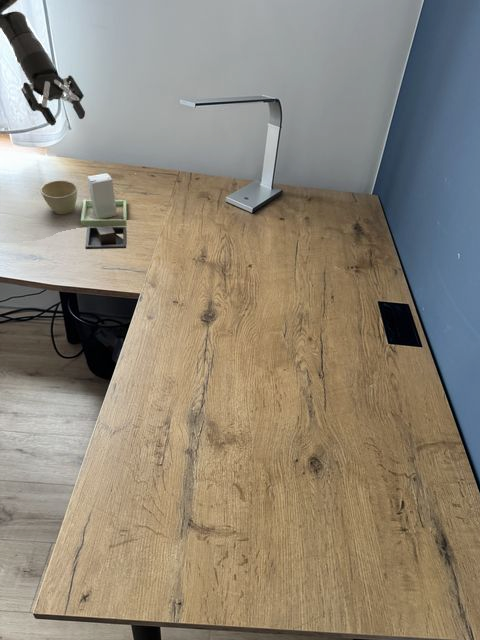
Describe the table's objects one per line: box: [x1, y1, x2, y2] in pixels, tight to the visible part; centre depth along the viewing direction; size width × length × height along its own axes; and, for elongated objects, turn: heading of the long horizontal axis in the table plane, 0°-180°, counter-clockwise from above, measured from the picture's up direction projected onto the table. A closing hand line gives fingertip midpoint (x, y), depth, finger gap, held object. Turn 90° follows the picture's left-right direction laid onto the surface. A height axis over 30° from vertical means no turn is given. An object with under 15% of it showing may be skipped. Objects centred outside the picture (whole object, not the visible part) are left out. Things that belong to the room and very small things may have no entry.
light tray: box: [80, 199, 128, 228], centre depth 150 cm, size 13×13×3 cm
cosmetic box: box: [87, 172, 118, 219], centre depth 147 cm, size 6×4×12 cm
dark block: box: [97, 226, 116, 245], centre depth 139 cm, size 4×4×4 cm
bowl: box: [40, 180, 78, 215], centre depth 149 cm, size 10×10×7 cm
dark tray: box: [84, 226, 128, 250], centre depth 140 cm, size 11×11×3 cm
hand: (68, 120), depth 129 cm, fingers open, 8 cm apart
